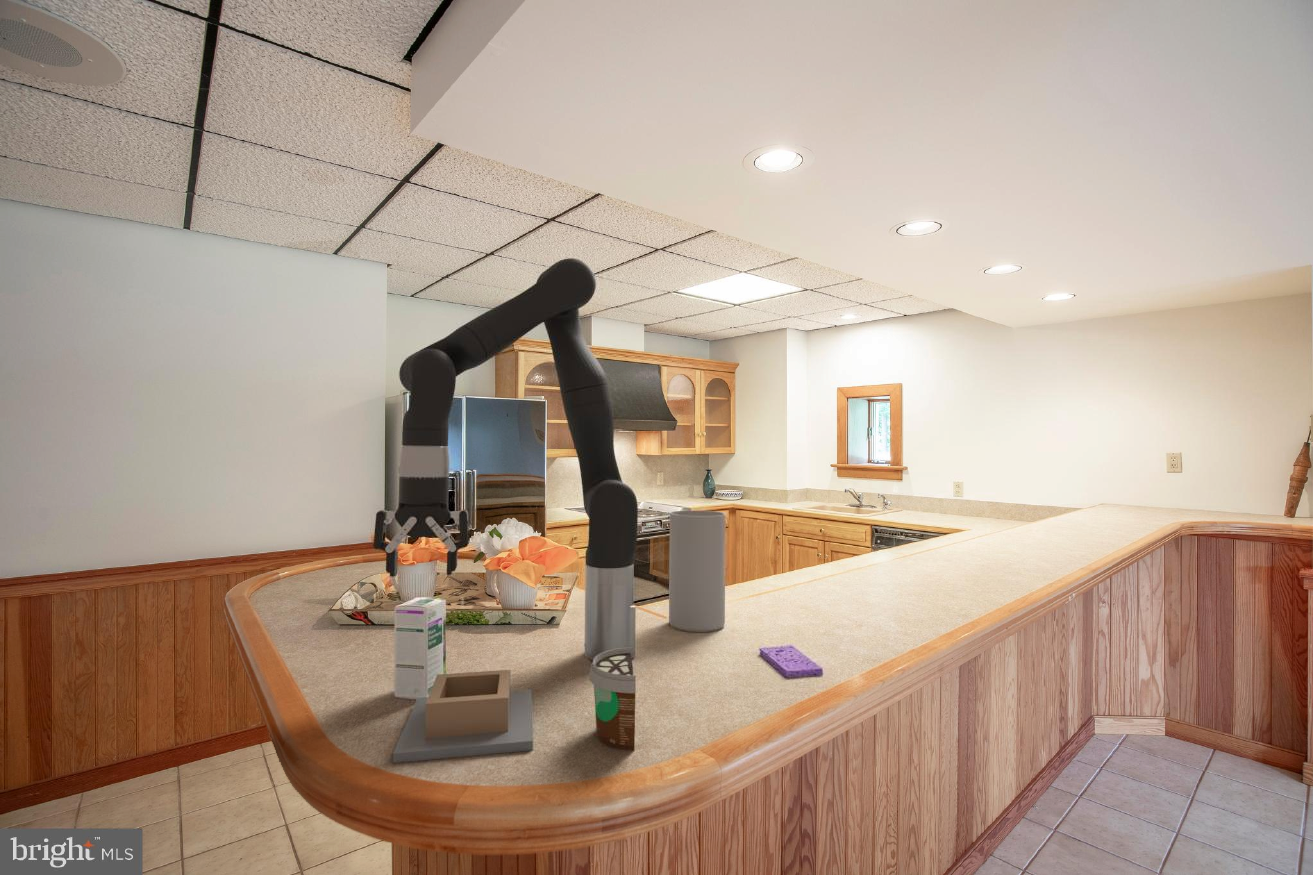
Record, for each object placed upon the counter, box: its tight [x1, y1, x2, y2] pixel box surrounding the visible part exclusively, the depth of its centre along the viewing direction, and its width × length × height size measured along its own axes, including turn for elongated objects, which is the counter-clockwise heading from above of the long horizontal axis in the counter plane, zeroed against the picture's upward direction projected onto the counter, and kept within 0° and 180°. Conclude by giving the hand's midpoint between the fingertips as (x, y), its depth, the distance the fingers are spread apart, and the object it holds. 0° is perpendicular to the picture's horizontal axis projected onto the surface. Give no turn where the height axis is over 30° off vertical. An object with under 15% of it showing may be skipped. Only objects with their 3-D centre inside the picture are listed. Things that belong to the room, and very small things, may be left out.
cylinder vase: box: [668, 510, 727, 633], centre depth 136 cm, size 12×12×25 cm
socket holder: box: [392, 669, 534, 764], centre depth 85 cm, size 17×17×6 cm
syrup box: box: [393, 596, 447, 700], centre depth 97 cm, size 6×6×14 cm
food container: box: [588, 647, 637, 751], centre depth 83 cm, size 12×6×10 cm, turn 5°
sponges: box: [759, 644, 824, 679], centre depth 111 cm, size 7×13×2 cm, turn 13°
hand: (421, 574), depth 97 cm, fingers open, 8 cm apart
